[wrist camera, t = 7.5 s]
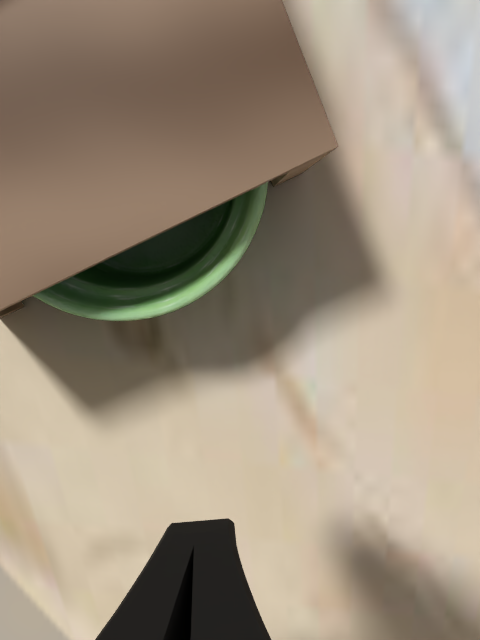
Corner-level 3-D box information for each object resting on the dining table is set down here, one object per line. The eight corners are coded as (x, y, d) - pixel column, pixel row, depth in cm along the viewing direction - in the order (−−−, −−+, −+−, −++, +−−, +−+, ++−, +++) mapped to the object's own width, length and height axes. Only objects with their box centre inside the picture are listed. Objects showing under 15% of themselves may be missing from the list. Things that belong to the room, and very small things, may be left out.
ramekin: (309, 165, 16) (335, 145, 12) (164, 342, 18) (141, 380, 13) (116, -9, 15) (69, -102, 11) (-24, 198, 16) (-115, 189, 12)
